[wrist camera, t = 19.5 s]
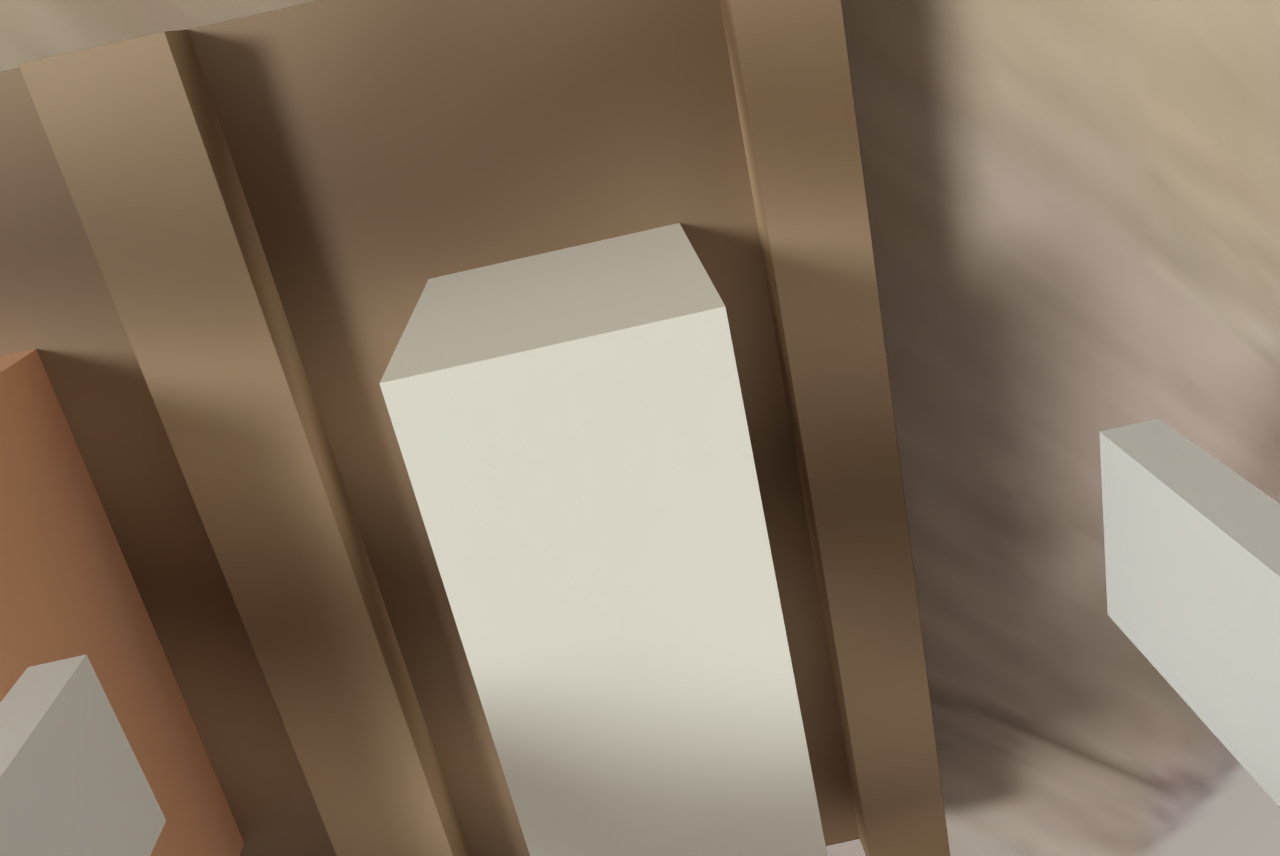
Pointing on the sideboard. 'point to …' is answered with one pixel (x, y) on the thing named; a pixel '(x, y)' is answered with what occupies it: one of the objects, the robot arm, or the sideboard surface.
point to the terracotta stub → (92, 609)
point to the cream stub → (608, 550)
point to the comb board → (371, 329)
